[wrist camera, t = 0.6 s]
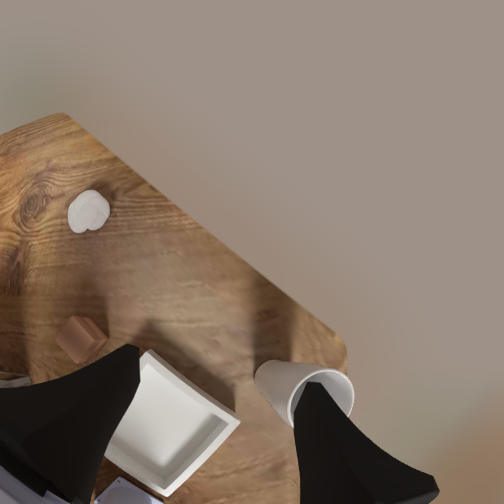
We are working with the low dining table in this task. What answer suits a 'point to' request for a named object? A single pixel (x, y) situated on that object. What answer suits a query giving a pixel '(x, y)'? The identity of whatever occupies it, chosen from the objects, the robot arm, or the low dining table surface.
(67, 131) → the low dining table surface
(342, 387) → the drinking glass
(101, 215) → the dumpling
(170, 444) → the bin
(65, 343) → the copper brown block
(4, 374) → the coffee box
